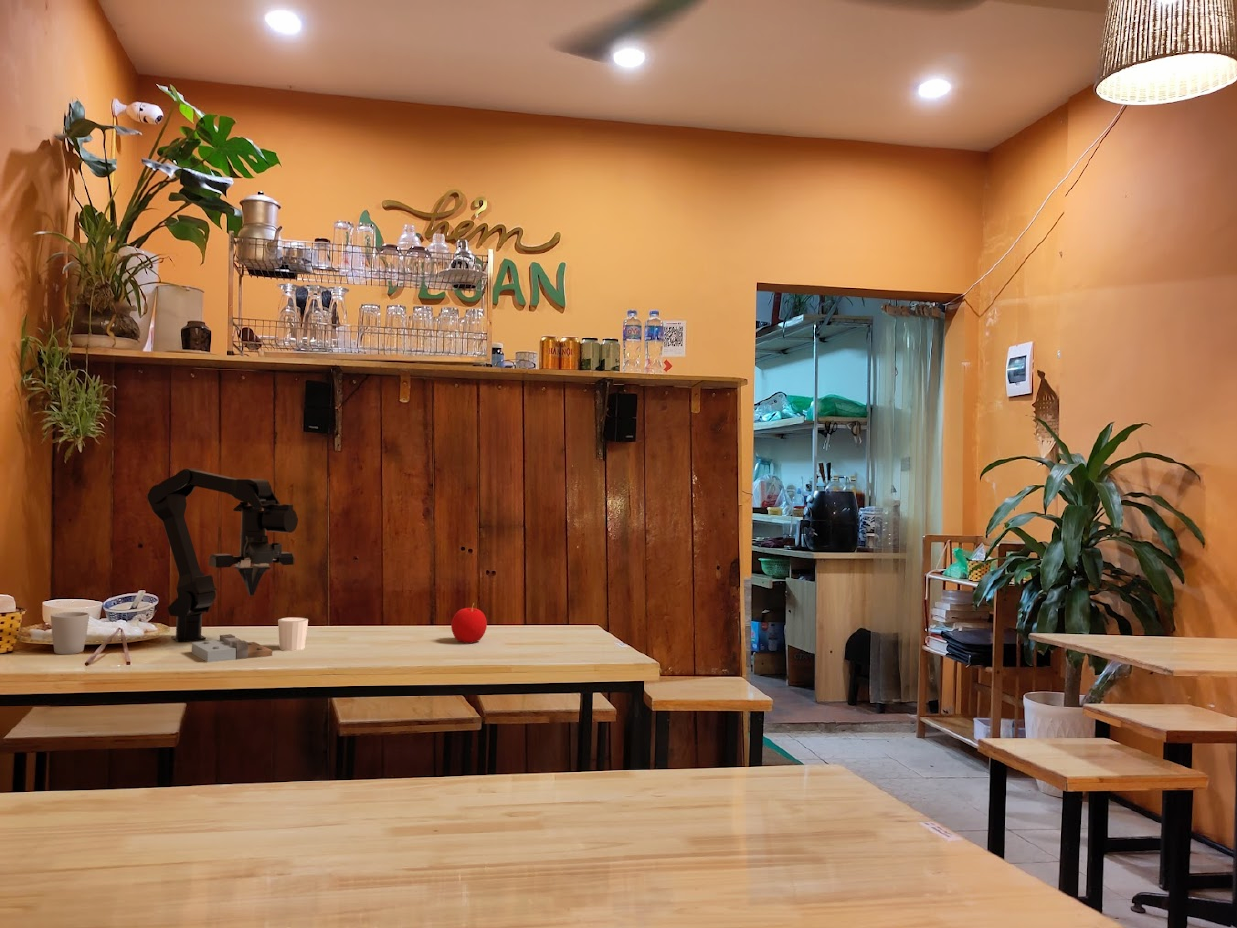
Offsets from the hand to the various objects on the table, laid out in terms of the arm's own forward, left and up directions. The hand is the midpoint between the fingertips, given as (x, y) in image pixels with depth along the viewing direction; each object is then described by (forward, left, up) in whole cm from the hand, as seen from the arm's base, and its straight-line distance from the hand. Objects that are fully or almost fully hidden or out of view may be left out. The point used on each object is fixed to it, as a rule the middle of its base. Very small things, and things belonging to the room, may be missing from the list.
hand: (251, 595), depth 228 cm
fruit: (+22, +48, -12) cm, 54 cm away
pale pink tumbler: (+9, +7, -12) cm, 17 cm away
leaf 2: (+9, -4, -12) cm, 16 cm away
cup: (-12, -36, -12) cm, 40 cm away
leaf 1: (+9, -10, -12) cm, 18 cm away
